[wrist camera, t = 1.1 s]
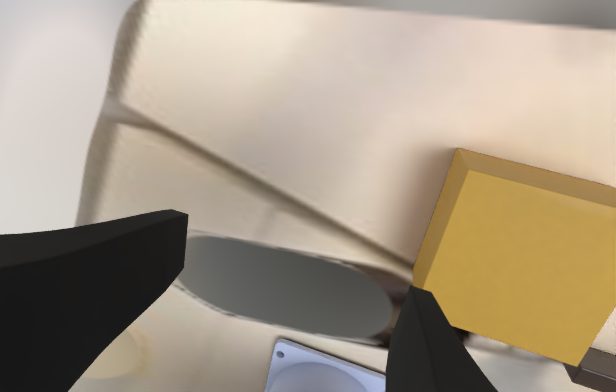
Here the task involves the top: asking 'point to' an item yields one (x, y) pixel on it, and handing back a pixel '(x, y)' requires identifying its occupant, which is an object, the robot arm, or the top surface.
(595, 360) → the bay
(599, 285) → the block
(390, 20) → the top surface
